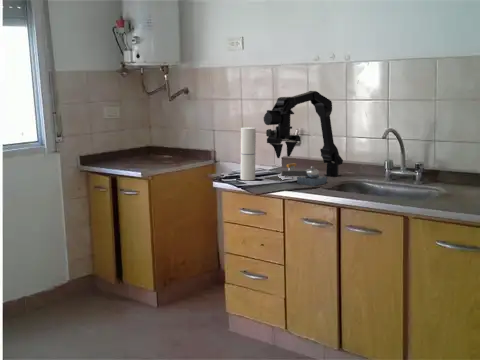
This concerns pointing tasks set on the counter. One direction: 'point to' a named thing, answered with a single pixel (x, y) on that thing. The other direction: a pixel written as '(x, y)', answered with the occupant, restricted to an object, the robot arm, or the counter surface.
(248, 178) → the cylindrical container
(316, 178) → the chuck base
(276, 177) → the rubber pad
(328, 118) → the robot arm
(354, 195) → the counter surface
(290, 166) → the chuck key
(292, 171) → the chuck collar
